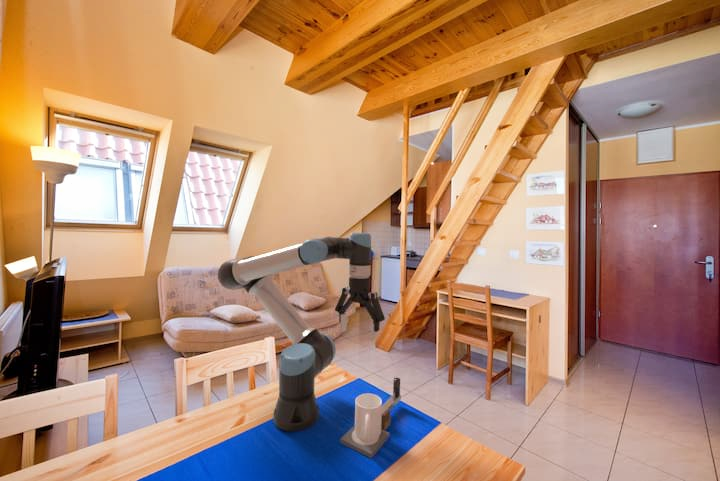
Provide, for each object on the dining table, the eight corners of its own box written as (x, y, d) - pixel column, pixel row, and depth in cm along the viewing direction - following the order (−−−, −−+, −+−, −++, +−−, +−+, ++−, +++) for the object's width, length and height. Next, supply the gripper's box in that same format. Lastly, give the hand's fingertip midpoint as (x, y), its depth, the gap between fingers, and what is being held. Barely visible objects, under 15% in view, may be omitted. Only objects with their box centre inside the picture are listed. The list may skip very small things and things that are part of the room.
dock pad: (340, 442, 95) (340, 438, 95) (359, 423, 104) (359, 419, 104) (371, 458, 89) (371, 453, 89) (389, 436, 98) (389, 432, 98)
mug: (380, 452, 90) (382, 417, 89) (352, 449, 90) (353, 415, 90) (381, 425, 101) (382, 394, 101) (355, 423, 102) (356, 392, 101)
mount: (368, 424, 104) (369, 409, 104) (374, 417, 107) (375, 403, 107) (384, 430, 101) (385, 415, 100) (390, 424, 104) (390, 409, 104)
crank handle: (372, 419, 102) (373, 396, 102) (394, 397, 116) (395, 376, 115) (379, 422, 101) (380, 398, 101) (400, 399, 115) (401, 378, 114)
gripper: (326, 273, 115) (325, 330, 116) (384, 282, 100) (382, 347, 101) (339, 271, 121) (338, 325, 122) (395, 279, 106) (393, 340, 108)
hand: (358, 335), depth 112 cm, fingers open, 13 cm apart
